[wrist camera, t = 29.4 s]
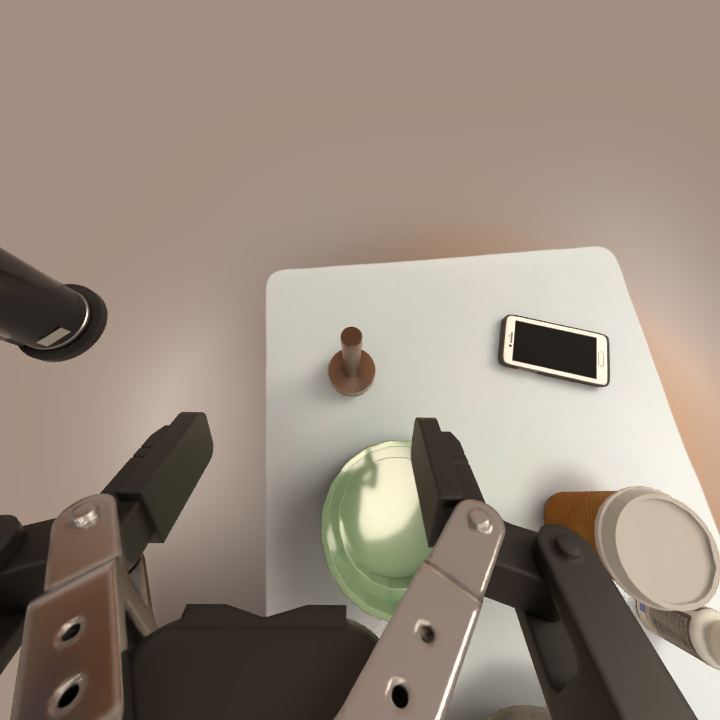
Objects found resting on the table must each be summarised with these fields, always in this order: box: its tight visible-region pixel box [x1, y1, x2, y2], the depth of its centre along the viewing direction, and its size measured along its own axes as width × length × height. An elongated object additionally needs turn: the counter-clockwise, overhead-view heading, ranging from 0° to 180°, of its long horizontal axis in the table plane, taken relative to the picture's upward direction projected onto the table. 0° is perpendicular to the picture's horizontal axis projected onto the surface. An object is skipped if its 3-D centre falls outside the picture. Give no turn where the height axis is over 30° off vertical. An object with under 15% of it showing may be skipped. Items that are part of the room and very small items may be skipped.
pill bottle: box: [637, 601, 720, 670], centre depth 30 cm, size 5×5×8 cm
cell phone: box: [499, 315, 610, 387], centre depth 43 cm, size 8×15×1 cm, turn 77°
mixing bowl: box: [321, 441, 433, 622], centre depth 34 cm, size 16×16×6 cm
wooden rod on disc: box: [329, 327, 375, 396], centre depth 35 cm, size 6×6×14 cm
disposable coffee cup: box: [544, 486, 720, 611], centre depth 31 cm, size 10×10×12 cm
